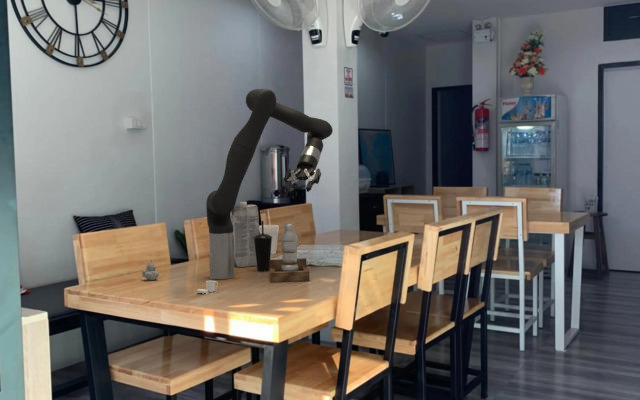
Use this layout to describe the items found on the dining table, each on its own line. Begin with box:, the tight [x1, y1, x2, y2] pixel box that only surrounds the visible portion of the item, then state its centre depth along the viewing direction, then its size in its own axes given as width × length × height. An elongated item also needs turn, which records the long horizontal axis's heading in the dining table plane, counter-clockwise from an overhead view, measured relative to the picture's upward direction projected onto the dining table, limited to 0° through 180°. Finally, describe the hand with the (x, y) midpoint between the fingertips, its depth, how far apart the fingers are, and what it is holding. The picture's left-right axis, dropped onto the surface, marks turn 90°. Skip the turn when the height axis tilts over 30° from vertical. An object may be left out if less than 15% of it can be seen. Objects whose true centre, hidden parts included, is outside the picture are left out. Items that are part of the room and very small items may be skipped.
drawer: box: [269, 257, 310, 284], centre depth 239 cm, size 14×12×7 cm
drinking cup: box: [253, 220, 272, 272], centre depth 257 cm, size 8×8×20 cm
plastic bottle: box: [280, 222, 299, 272], centre depth 239 cm, size 6×7×20 cm
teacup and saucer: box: [196, 279, 219, 295], centre depth 218 cm, size 9×8×4 cm
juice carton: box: [231, 201, 260, 268], centre depth 269 cm, size 9×10×27 cm
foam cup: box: [259, 224, 280, 255], centre depth 304 cm, size 10×9×13 cm
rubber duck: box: [140, 259, 160, 281], centre depth 241 cm, size 5×7×8 cm
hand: (297, 190), depth 246 cm, fingers open, 8 cm apart
